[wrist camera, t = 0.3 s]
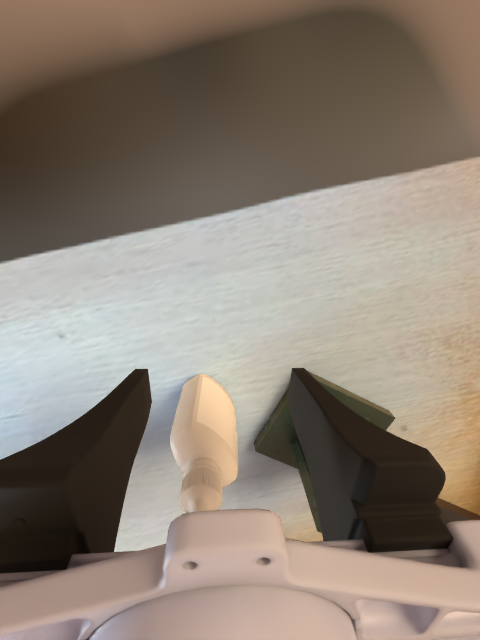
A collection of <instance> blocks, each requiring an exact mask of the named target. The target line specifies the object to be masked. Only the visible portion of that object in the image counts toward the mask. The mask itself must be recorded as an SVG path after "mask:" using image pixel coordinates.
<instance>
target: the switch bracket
mask: <svg viewBox="0 0 480 640" xmlns="http://www.w3.org/2000/svg"><path fill="white" fill-rule="evenodd" d="M309 373H310V372H309ZM310 374H311V375H312V376H313V377H314V378H315V379H316V380H317V381H318V382H319V383H320V384H321V385H322V386H323V387H324V388H325V389H326V390H328V391H329V392H330V393H331V394H332V395H333V396H334V397H336V398H337V399H338V400H339V401H341V402H342V403H343V404H344V405H346V406H347V407H348V408H350V409H351V410H353V411H354V412H355V413H357V414H358V415H360V416H361V417H363V418H364V419H366V420H368V421H369V422H371V423H373V424H374V425H376V426H378V427H380V428H382V429H383V430H385V431H386V429H387V428H388V427H389V426H390V424H391V423H392V422H393V421H394V419H395V417H394V416H393V415H392V414H391V413H390V412H389V411H388V410H386V409H384V408H382V407H380V406H378V405H376V404H374V403H372V402H370V401H368V400H366V399H364V398H362V397H360V396H358V395H356V394H353V393H351V392H349V391H347V390H345V389H343V388H341V387H339V386H337V385H335V384H333V383H331V382H329V381H327V380H325V379H323V378H321V377H319V376H317V375H314V374H312V373H310ZM288 395H289V389H288V391H287V392H286V394H285V396H284V397H283V399H282V400H281V402H280V403H279V405H278V406H277V408H276V409H275V411H274V412H273V414H272V416H271V417H270V419H269V420H268V422H267V423H266V425H265V426H264V428H263V429H262V431H261V433H260V434H259V436H258V437H257V439H256V440H255V442H254V446H255V451H256V452H258V453H261V454H263V455H266V456H268V457H271V458H273V459H275V460H278V461H280V462H283V463H285V464H288V465H290V466H292V467H295V468H297V469H298V470H299V473H300V476H301V479H302V483H303V486H304V489H305V492H306V496H307V499H308V502H309V505H310V509H311V512H312V515H313V518H314V522H315V525H316V528H317V531H318V532H321V533H322V529H321V524H320V519H319V514H318V509H317V504H316V500H315V495H314V491H313V486H312V482H311V478H310V473H309V469H308V465H307V462H306V459H305V455H304V453H303V450H302V447H301V444H300V441H299V438H298V435H297V433H296V430H295V427H294V424H293V421H292V418H291V413H290V409H289V404H288Z"/></svg>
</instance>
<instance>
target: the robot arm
mask: <svg viewBox="0 0 480 640" xmlns="http://www.w3.org/2000/svg"><path fill="white" fill-rule="evenodd" d="M151 403H152V400H151V391H150V383H149V375H148V369H135V370H134V371H133V372H132V373H131V374H129V375H128V376H127V377H126V378H125V379H124V380H123V381H122V382H121V383H120V384H119V385H118V386H117V387H116V388H115V389H114V390H113V391H112V392H111V393H110V394H109V395H107V396H106V397H105V398H104V399H103V400H102V401H100V402H99V403H98V404H97V405H96V406H95V407H93V408H92V409H91V410H89V411H88V412H87V413H85V414H84V415H83V416H81V417H80V418H78V419H77V420H75V421H74V422H72V423H71V424H69V425H68V426H66V427H64V428H63V429H61V430H59V431H58V432H56V433H55V434H53V435H51V436H49V437H47V438H46V439H44V440H42V441H40V442H38V443H36V444H34V445H32V446H30V447H28V448H26V449H24V450H22V451H19V452H17V453H15V454H13V455H10V456H8V457H6V458H4V459H1V460H0V640H480V520H467V521H453V522H450V523H448V524H446V525H444V523H443V522H442V520H441V518H440V517H439V516H440V515H441V510H440V509H439V507H438V506H437V504H436V503H435V502H436V500H437V498H438V496H439V494H440V492H441V490H442V488H443V486H444V483H445V479H446V478H445V472H444V470H443V469H442V467H441V466H440V465H439V463H438V462H437V461H436V460H435V458H434V457H433V456H432V454H431V453H430V452H429V451H428V450H427V449H426V448H423V447H421V446H418V445H416V444H413V443H411V442H409V441H406V440H404V439H402V438H399V437H397V436H395V435H393V434H391V433H389V432H387V431H385V430H383V429H382V428H380V427H378V426H376V425H374V424H373V423H371V422H369V421H368V420H366V419H364V418H363V417H361V416H360V415H358V414H357V413H355V412H354V411H353V410H351V409H350V408H348V407H347V406H346V405H344V404H343V403H342V402H341V401H339V400H338V399H337V398H336V397H334V396H333V395H332V394H331V393H330V392H329V391H328V390H326V389H325V388H324V387H323V386H322V385H321V384H320V383H319V382H318V381H317V380H316V379H315V378H314V377H313V376H312V375H311V374H310V373H309V372H308V371H307V370H306V369H304V368H292V373H291V380H290V387H289V395H288V404H289V409H290V413H291V418H292V421H293V424H294V427H295V430H296V433H297V435H298V438H299V441H300V444H301V447H302V450H303V453H304V455H305V459H306V462H307V465H308V469H309V473H310V478H311V482H312V486H313V491H314V495H315V500H316V504H317V509H318V514H319V519H320V524H321V529H322V535H323V540H324V541H320V542H304V541H298V540H293V539H287V538H285V537H284V532H283V527H282V523H281V519H280V517H279V516H277V515H276V514H274V513H273V512H271V511H269V510H263V509H237V510H214V511H195V512H190V513H185V514H182V515H181V516H179V517H178V518H176V519H175V520H173V521H172V522H171V524H170V527H169V530H168V536H167V543H166V544H163V545H159V546H156V547H152V548H148V549H144V550H140V551H128V552H114V548H115V542H116V537H117V532H118V527H119V522H120V517H121V512H122V508H123V503H124V499H125V494H126V490H127V486H128V481H129V477H130V473H131V469H132V466H133V463H134V460H135V457H136V454H137V451H138V448H139V445H140V442H141V439H142V437H143V434H144V431H145V428H146V425H147V422H148V418H149V413H150V408H151Z"/></svg>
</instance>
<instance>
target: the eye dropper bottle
mask: <svg viewBox="0 0 480 640" xmlns="http://www.w3.org/2000/svg"><path fill="white" fill-rule="evenodd" d="M170 444H171V449H172V452H173V455H174V458H175V460H176V462H177V464H178V466H179V468H180V469H181V471H182V472H183V474H184V477H183V482H182V488H181V494H180V505H181V506H182V508H183V509H184V510H185V511H186V512H187V513H190V512H195V511H214V510H218V508H219V507H220V505H221V503H222V488H224V487H226V486H227V485H229V484H230V483H232V482H233V481H234V480H235V479H236V477H237V474H238V450H237V431H236V414H235V409H234V406H233V403H232V401H231V399H230V397H229V395H228V393H227V392H226V391H225V389H224V388H223V387H222V386H221V385H220V384H219V383H217V382H216V381H215V380H214V379H212V378H210V377H209V376H207V375H205V374H199V375H197V376H195V377H193V378H192V379H190V380H189V381H187V382H186V383H185V384H184V385H183V388H182V392H181V396H180V399H179V403H178V407H177V411H176V414H175V418H174V422H173V426H172V431H171V436H170Z"/></svg>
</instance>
